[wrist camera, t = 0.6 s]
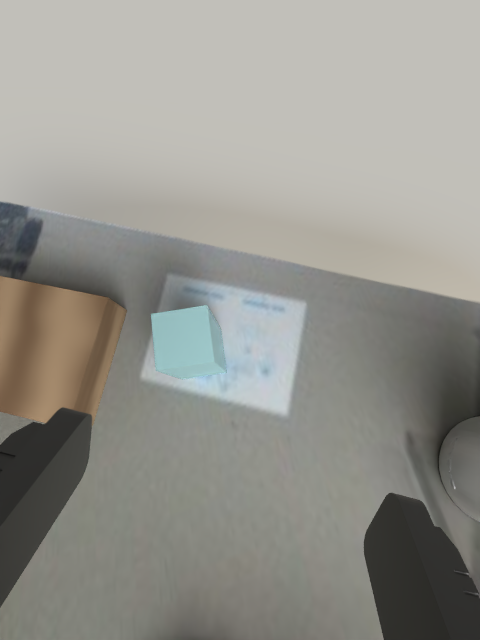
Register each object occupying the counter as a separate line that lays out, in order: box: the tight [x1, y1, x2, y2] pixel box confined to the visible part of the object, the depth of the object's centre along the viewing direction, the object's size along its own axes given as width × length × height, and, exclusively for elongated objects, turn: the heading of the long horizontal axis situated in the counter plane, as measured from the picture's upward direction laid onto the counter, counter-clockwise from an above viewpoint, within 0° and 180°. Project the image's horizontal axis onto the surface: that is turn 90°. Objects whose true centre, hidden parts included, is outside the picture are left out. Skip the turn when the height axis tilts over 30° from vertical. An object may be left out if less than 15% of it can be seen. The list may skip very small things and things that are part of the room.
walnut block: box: [0, 276, 127, 426], centre depth 35 cm, size 12×12×5 cm
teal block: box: [151, 305, 227, 379], centre depth 32 cm, size 4×4×9 cm
